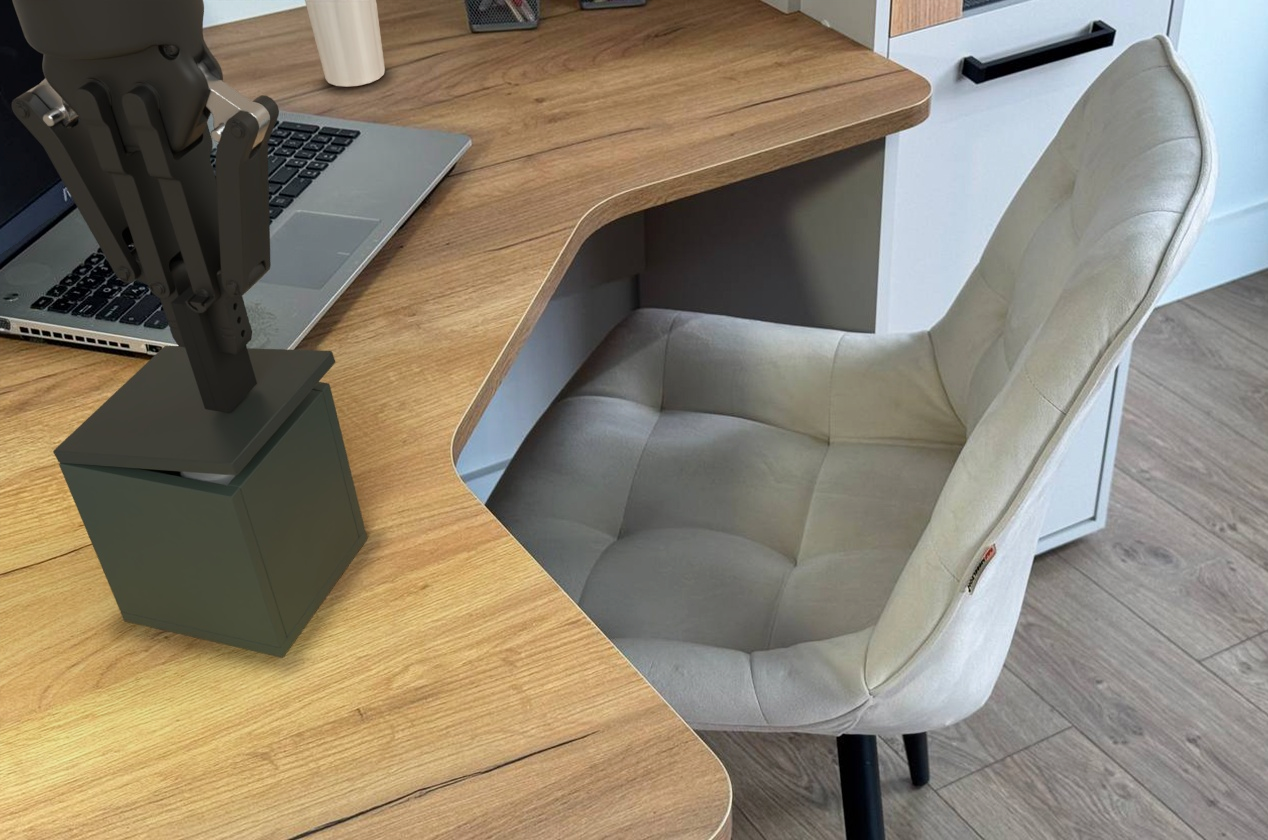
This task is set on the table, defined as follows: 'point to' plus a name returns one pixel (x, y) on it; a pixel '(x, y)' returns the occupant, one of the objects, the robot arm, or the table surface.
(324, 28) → the cup
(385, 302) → the table surface
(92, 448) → the trash lid
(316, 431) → the trash bin
